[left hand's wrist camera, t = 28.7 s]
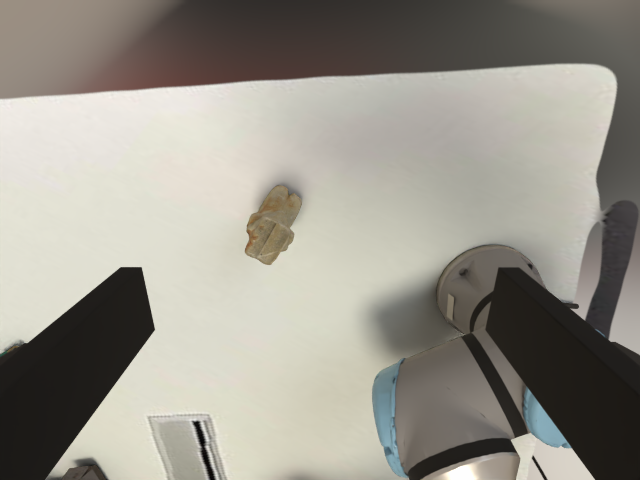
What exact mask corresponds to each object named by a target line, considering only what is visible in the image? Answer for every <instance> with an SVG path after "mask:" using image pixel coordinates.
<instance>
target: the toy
mask: <svg viewBox="0 0 640 480" xmlns="http://www.w3.org/2000/svg"><path fill="white" fill-rule="evenodd" d="M62 480H106V479H105V477H104V476H103V474H102V473H101V471H100V470H99V468H98V467H97V465H93V466H83V467H77V468H70V469H69V470H68V471H67V473H66V474H65V475H64V477H63V478H62Z"/></svg>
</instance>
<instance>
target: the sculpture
mask: <svg viewBox="0 0 640 480" xmlns="http://www.w3.org/2000/svg"><path fill="white" fill-rule="evenodd" d="M301 205H302V201H301V199H300V198H299V197H298V196H297V195H296V194H294V193H293V194H291V195H289V194H288V189H287V188H286V187H284V186H281V185H278V186H276V187H275V188H273V189H272V191H271V192H270V193H269V195H268V196H267V198H266V199H265V200H264V202H263V204H262V205H261V207H260V209H259V211H258V213H254V214H252V215H251V216H250V219H249V222H248V224H247V233H248V234H249V241H248V243H247V246H246V248H245V253H246V254H247V255H248V256H250V257H252V258H256V259H258V260H259V261H260V262H262V263H263V264H266V265H271V264H272V263H273V262H274V261H275V260H276V258H277V257H278V255H279V254H280V252H282V251H286V250H287V248H288V245H289V244H291V243H292V241H293V238H294V233H293V232H292V231H291V230H290V227H291V225H292V224H293V222H294V220H295V218H296V216H297V214H298V212H299V210H300V207H301Z"/></svg>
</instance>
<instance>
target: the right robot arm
mask: <svg viewBox="0 0 640 480" xmlns="http://www.w3.org/2000/svg"><path fill="white" fill-rule="evenodd" d="M532 460H533V461H534V463H535V465H536V466H537V468H538V470H539V472H540V473H541V475H542V477H543V479H544V480H548V479H547V477H546V476H545V474H544V472H543V470H542V469H541V467H540V465H539V464H538V462H537V460H536V459H535V457H534V456H532Z"/></svg>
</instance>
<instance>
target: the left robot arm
mask: <svg viewBox="0 0 640 480" xmlns="http://www.w3.org/2000/svg"><path fill="white" fill-rule="evenodd" d="M436 298H437V304H438V307H439V309H440V311H441V313H442V314H443V316H444V318H445V319H446V320H447V322H448V323H449V324H450V325H451V326H453V327H454V328H455V329H456V330H458V331H460V332H461V333H463V334H465V335H464V336H462V337H459V338H457V339H454V340H452V341H449V342H447V343H444V344H442V345H439V346H437V347H434V348H432V349H429V350H427V351H424V352H422V353H419V354H417V355H414V356H411V357H409V358H403V359H401V360H400V361H399V362H398V363H396V364H394V365H392V366H390V367H388V368H386V369H383V370H382V371H380V372H379V373H378V374H377V376H376V378H375V380H374V384H373V389H372V402H373V411H374V417H375V423H376V427H377V432H378V435H379V439H380V442H381V445H382V446H384V452H385V456H386V459H387V461H388V463H389V465H390V467H391V469H392V470H393V472H394V473H395V474H397V475H398V476H400V477H404V478H408V477H409V479H410V480H516V476H517V472H518V467H519V463H520V457H519V455H518V453H517V451H516V450H515V448H514V446H513V444H512V442H511V439H514V438H516V437H519V436H522V435H525V434H528V433H532V434H533V435H534V436H535V437H536V438H538V439H540V440H541V441H542V442H543V443H545V444H547V445H550V446H552V447H560V446H562V447H564V448H572V449H573V450H574V452H575V453H576V454H577V456H578V457H579V458H580V460H581V461H582V462H583V464H584V465H585V467H586V468H587V469H588V471H589V472H590V473H591V475H592V476H593V477H594V479H595V480H640V355H639V354H637V353H635V352H633V351H631V350H629V349H628V348H626V347H624V346H622V345H620V344H618V343H616V342H610V341H609V340H608V339H607V338H606V337H605V336H604V335H603V334H602V333H601V332H599V331H598V330H596V329H594V328H593V327H592V326H591V325H589V324H588V323H587V322H586V321H584V320H583V319H582V318H581V317H580V316H578V315H577V314H576V313H575V312H573V311H572V310H571V309H570V308H572V309H578V308H579V305H578V304H572V303H562V302H561V301H560V300H559V299H557V298H556V297H555V296H554V295H553V294H551V293H550V292H549V291H548V290H546V288H545V285H544V283H543V281H542V279H541V277H540V275H539V273H538V271H537V269H536V268H535V266H534V265H533V263H532V262H531V261H530V260H529V259H528V258H526V257H525V256H524V255H522V254H521V253H520V252H518V251H516V250H514V249H512V248H510V247H506V246H501V245H486V246H481V247H477V248H474V249H471V250H469V251H467V252H465V253H463V254H461V255H460V256H458V257H457V258H456V259H455V260H453V261H452V262H451V263H450V264H449V265H448V267H447V268H446V269H445V270H444V272H443V273H442V275H441V277H440V279H439V282H438V285H437V291H436ZM154 330H155V328H154V323H153V318H152V314H151V309H150V304H149V300H148V295H147V290H146V285H145V281H144V276H143V271H142V267H121V268H119V269H118V270H117V271H116V272H114V273H113V274H112V275H111V276H110V277H108V278H107V279H106V280H105V281H103V282H102V283H101V284H100V285H98V286H97V287H96V288H95V289H94V290H92V291H91V292H90V293H89V294H87V295H86V296H85V297H84V298H83V299H81V300H80V301H79V302H78V303H76V304H75V305H74V306H73V307H71V308H70V309H69V310H68V311H67V312H65V313H64V314H63V315H62V316H60V317H59V318H58V319H57V320H56V321H54V322H53V323H52V324H51V325H49V326H48V327H47V328H46V329H44V330H43V331H42V332H41V333H40V334H38V335H37V336H36V337H35V338H33V339H32V340H31V341H30V342H29V343H24V344H23V345H21V346H19V347H17V348H15V349H13V350H11V351H10V352H8V353H6V354H4V355H2V356H1V357H0V480H45V479H46V477H47V476H48V475H49V473H50V472H51V471H52V469H53V468H54V467H55V465H56V464H57V462H58V461H59V460H60V458H61V457H62V456H63V454H64V453H65V452H66V450H67V449H68V447H69V446H70V445H71V443H72V442H73V441H74V439H75V438H76V437H77V435H78V434H79V432H80V431H81V430H82V428H83V427H84V426H85V424H86V423H87V422H88V420H89V419H90V417H91V416H92V415H93V413H94V412H95V411H96V409H97V408H98V407H99V405H100V404H101V403H102V401H103V400H104V398H105V397H106V396H107V394H108V393H109V392H110V390H111V389H112V388H113V386H114V385H115V383H116V382H117V381H118V379H119V378H120V377H121V375H122V374H123V373H124V371H125V370H126V368H127V367H128V366H129V364H130V363H131V362H132V360H133V359H134V358H135V356H136V355H137V353H138V352H139V351H140V349H141V348H142V347H143V345H144V344H145V343H146V341H147V340H148V339H149V337H150V336H151V334H152V333H153V332H154Z"/></svg>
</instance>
